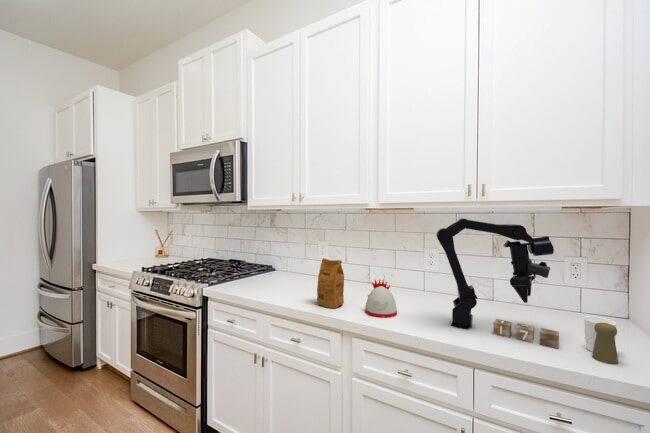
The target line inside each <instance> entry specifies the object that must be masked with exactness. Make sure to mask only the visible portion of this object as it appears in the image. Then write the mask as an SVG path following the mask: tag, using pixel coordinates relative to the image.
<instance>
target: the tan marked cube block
mask: <svg viewBox="0 0 650 433" xmlns="http://www.w3.org/2000/svg"><path fill="white" fill-rule="evenodd" d="M514 338H515V340H518V341H521V342H526V343H530V344H533V342H534V340H535V326H534V325H530V324H525V323H520V322H519V323H517V324H516V326H515V337H514Z"/></svg>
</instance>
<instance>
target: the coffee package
mask: <svg viewBox="0 0 650 433" xmlns="http://www.w3.org/2000/svg"><path fill="white" fill-rule="evenodd" d="M342 264H343V262H342V259H341V260H340V259H335V260H333V259H331V260H330V259H327V258H324V257H323V258H322V260H321V263H320V267H319V273H318V277H317V287H316V294H317V295H316V296H317V298H316V305H317V306H323V307H324V308H327V309H328V308H330V309H337V308H338V307H340V306H343V304H344V299H345V298H344V291H345V274H344V273H345V272H344V270H343V267H342Z"/></svg>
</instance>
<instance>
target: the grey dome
mask: <svg viewBox="0 0 650 433" xmlns="http://www.w3.org/2000/svg"><path fill="white" fill-rule="evenodd" d="M387 284H388V282H387V281H386V282H385V281H384V279H382V281H381V279H380V278H379V280H378V282H377V279H376V278H375V279H374V282H373V281H371V285H372V286H373V289H372V290H371V292H370V293H369V294H368V295H367V299H366V302H365V309H364V313H365V315H367V316H370V317H373V318H377V319H379V318H380V319H387V318H388V319H389V318H394V317H396V316H397V314H398V309H397V303H396V300H395V297H394V295H393V293H392V292H391V290H390V287H391V284H389V285H388V286H387Z"/></svg>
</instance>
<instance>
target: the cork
mask: <svg viewBox="0 0 650 433" xmlns="http://www.w3.org/2000/svg"><path fill="white" fill-rule="evenodd" d="M594 329H595V331H596V333H597V334H596V339H595V344H594V349H593V352H592V354H591V357H592V358H593V359H594V361H595V360H596V361H598V362H600V363H603V364H604V363H605V364H608V365H609V364H610V365H618V364H619V357H618V351H617V345H616V336H617V335H618V329H617V326H616V327H615V326H613V325H611V324H608V323H602V322H599V323H596V324H595V326H594Z"/></svg>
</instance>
